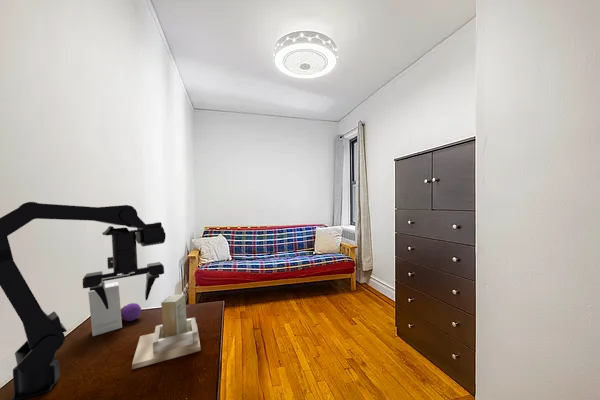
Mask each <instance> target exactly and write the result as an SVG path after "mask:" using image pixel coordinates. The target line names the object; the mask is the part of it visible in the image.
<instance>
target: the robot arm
mask: <svg viewBox="0 0 600 400" xmlns="http://www.w3.org/2000/svg"><path fill="white" fill-rule="evenodd" d="M37 219H38V220H41V219H42V220H61V221H62V220H66V221H68V220H69V221H89V222H90V221H92V222H98V223H104V224H109V225H110V226H108V227H107V228H106V230H103V232H102V234H101V235H102V236H111V248H112V249H111V250H112V256H109V257H107V260H106V261H107V269H108V270H110V269H111V270H112V269H113V272H109V273H103V271H95V272H90V273H89V272H88V273H85V275H84V276H83V278H82V289H89V288H90V290H95V291H96V293H97V294H98V295H99V296H100V298H101V300H102V301H103V303H104V305H105V307H106V309H109V306H108V298H107V294H106V289H105V284H106V283H105V281H111V280H118V279H123V278H129V277H135V276H141V275H145V276H146V278H145V279H146V281H145V290H144V291H145V292H144V298H145V301H148V299H149V296H150V293H151V290H152V288H153V285H154V283H155V281H156V280H157V279H159V278H160V275H164V274H165V267H164V264H163V263H161V262H160V261H158V262H152V263H151V262H150V263H147V265H146V266H145V267H138V248H137V244H139V245H140V246H142V247H148V246H149V247H150V246H155V245H162V244H164V243H165V242H166V232H165V229H164V227H163V226H162V222H161V221H158V222H157V221H156V222H153V223H145V222H144V221H143V220H142V219H141V217H139V215H138V212H137V210H136V208H135V207H134V206H132V205H128V204H123V205H111V206H97V207H96V206H83V205H82V206H81V205H69V204H53V203H39V202H36V201H35V202H34V201H28V202H24V203H22V204H21V205H19V206H18V207H17V208H16V209H15V208H14V210H12V211H10V212H9V213H7V214H5V215H3V216H0V287H1V289H2V292H3V293H4V294H5V296H6V298H7V299H8V301H9V303H10V304H11V306H12V308H13V309H14V311H15V312H16V314H17V315H18V318H19V319H20V321H21V323H22V327H23V330H24V333H25V337H26V341H25V342H23V344H22V345H21V346H20V347H19V348H18V349H17V350H16V351H15V352H14V357H15V361H16V366H14V368H12V380H13V382H12V383H13V395H12V396H11V398H9V400H20V399H21V400H24V398H25V399H29V398H32V397H35V396H39V395H41V394H46V393H49V392H50V390H52V389H53V386H54V385H55V384H56V383H57V381H58V380H59V379H60V376H61V374H60V361H59V360H58V359H57V358H56V357H57V356H56V352H57V351H58V350H60V348H61V347H62V346H63V344H64V343H65V341H66V336H65V333H66V332H67V329H66V327H65V326H64V325H63V323H61V319H60V317H59V315H58V314H57V312H56V311H55V310H54V311H52V312H51V313H50V314H47V313H46V312H45V311H44V310H43V309H42V307H41V305H40V304H39V302H38V300H37V298H36V297H35V295H34V293H33V292H32V289H31V288H30V287H29V284H28V283H27V281H26V280H25V278H24V276H23V275H22V272H21V271H20V269H19V268H18V265H17V263H16V262H15V261H14V256H13V253H12V249H11V246H10V241H9V237H8V236H10V235H12V234H13V233H14V232H16V231H18V230H20V229H21V228H22V227H24V226H26V225H27V224H28V223H30V222H32V221H33V220H37ZM112 225H114V226H123V227H116V228H115V227H114V226H112ZM127 227H128V228H134V229H131V230H130V229H128V228H127Z"/></svg>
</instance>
